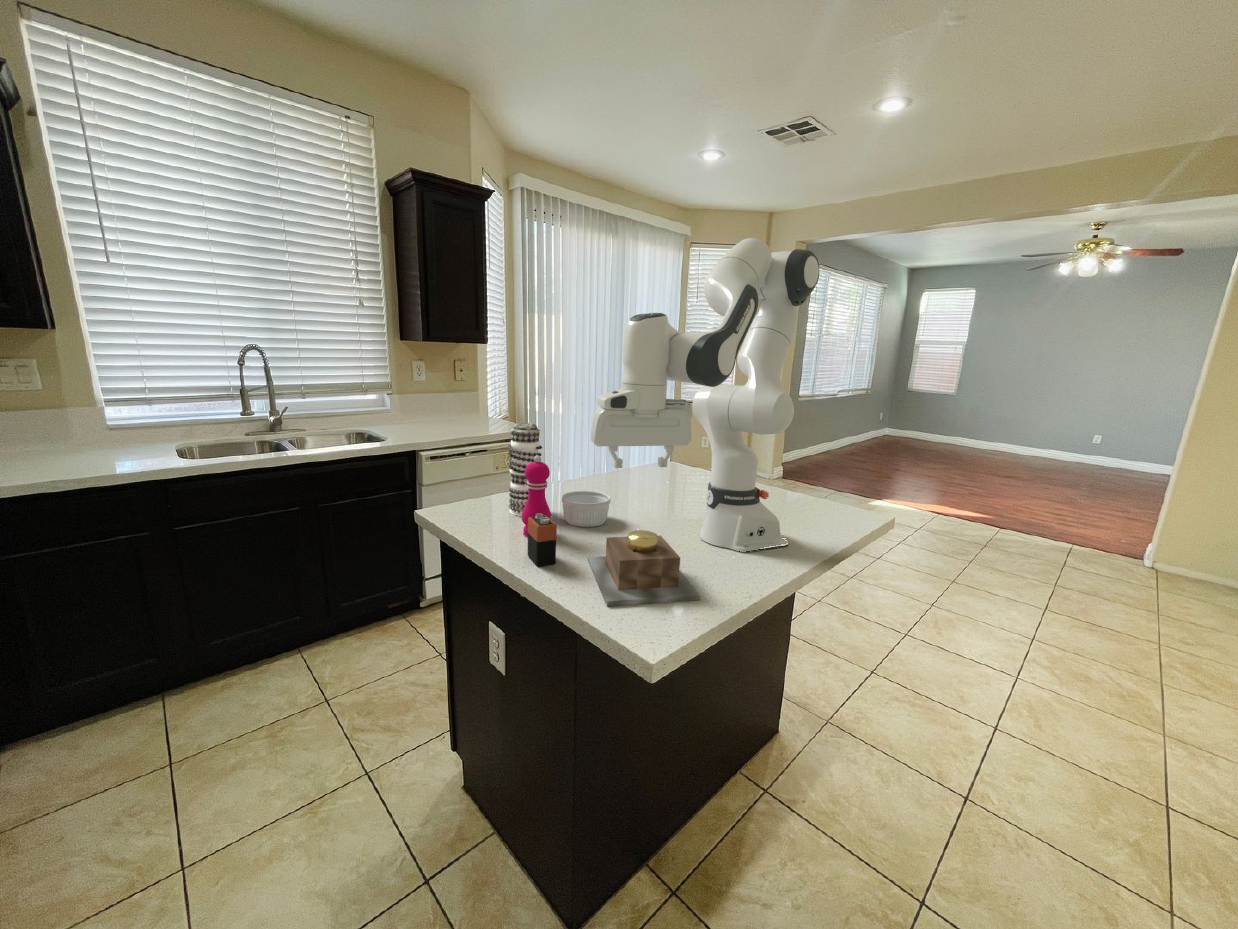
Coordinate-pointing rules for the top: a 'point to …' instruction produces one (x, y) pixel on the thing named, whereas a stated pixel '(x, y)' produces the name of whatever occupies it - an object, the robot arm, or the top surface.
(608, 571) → the board
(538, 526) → the battery
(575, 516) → the ramekin
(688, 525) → the top surface
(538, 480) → the pepper mill
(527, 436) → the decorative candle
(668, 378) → the robot arm
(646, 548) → the gold grey cylinder
